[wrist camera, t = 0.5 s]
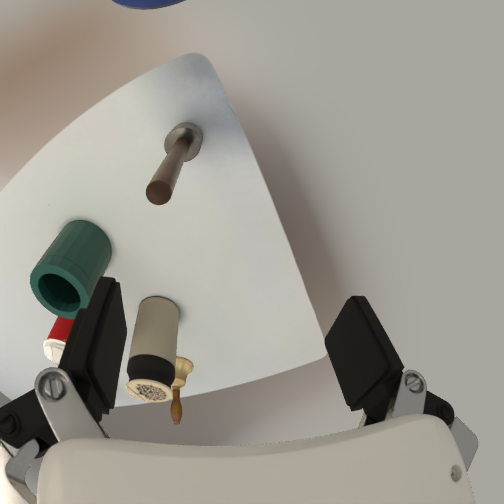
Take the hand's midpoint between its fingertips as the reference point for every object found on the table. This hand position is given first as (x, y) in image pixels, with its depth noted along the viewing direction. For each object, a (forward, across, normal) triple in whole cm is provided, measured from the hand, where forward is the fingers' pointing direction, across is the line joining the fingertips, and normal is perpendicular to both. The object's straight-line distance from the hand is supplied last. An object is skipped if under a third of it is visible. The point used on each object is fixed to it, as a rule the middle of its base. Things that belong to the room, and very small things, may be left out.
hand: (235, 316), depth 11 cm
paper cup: (+30, +24, +33) cm, 51 cm away
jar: (+30, +21, +19) cm, 41 cm away
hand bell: (+30, +4, +52) cm, 60 cm away
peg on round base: (+30, +4, -1) cm, 30 cm away
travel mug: (+30, +7, +32) cm, 44 cm away
